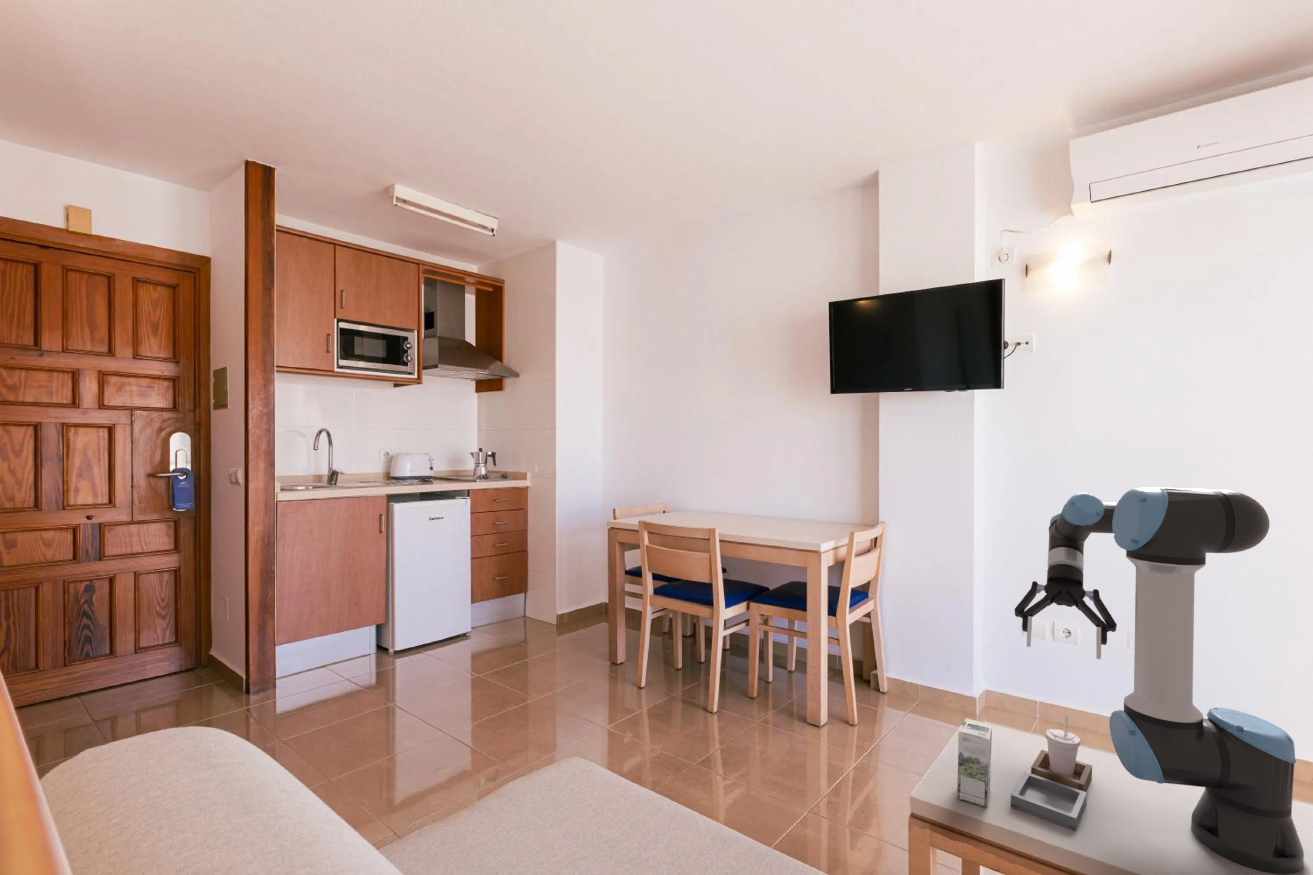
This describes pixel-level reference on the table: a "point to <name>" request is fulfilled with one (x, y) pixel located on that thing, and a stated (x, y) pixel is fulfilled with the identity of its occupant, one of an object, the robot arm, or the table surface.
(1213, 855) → the table surface
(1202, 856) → the table surface
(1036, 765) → the collar
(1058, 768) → the smoothie
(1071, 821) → the tray
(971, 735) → the syrup box
